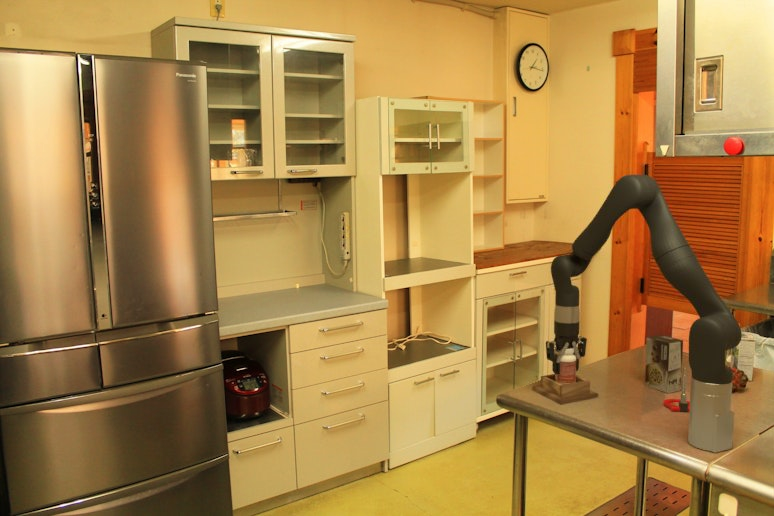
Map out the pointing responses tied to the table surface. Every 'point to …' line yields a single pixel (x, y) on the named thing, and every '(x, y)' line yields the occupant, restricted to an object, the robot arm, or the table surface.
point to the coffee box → (664, 363)
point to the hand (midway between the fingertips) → (565, 371)
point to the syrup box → (744, 355)
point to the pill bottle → (567, 368)
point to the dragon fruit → (738, 379)
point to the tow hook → (683, 403)
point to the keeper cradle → (565, 390)
